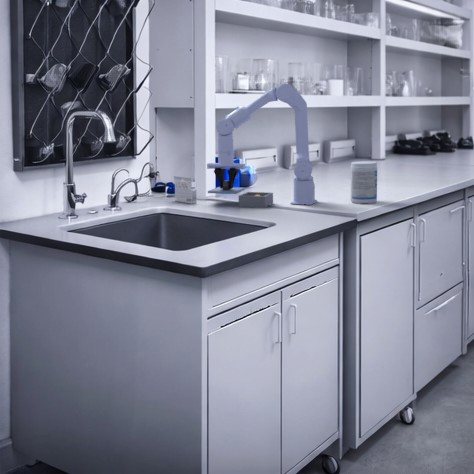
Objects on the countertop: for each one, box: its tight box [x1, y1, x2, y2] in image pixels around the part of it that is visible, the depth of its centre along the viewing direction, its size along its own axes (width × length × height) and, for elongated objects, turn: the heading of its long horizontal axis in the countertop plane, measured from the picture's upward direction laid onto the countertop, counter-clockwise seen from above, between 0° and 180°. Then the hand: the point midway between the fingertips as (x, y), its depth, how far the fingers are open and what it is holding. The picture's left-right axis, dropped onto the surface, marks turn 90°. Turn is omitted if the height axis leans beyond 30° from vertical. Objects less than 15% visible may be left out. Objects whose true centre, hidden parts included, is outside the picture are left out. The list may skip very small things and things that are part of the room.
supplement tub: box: [350, 160, 378, 204], centre depth 249 cm, size 10×10×15 cm
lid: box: [207, 179, 246, 195], centre depth 254 cm, size 11×11×4 cm
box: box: [238, 191, 274, 209], centre depth 250 cm, size 10×10×4 cm
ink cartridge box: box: [173, 175, 197, 205], centre depth 260 cm, size 2×11×10 cm, turn 41°
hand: (226, 188), depth 254 cm, fingers closed on lid, 3 cm apart
